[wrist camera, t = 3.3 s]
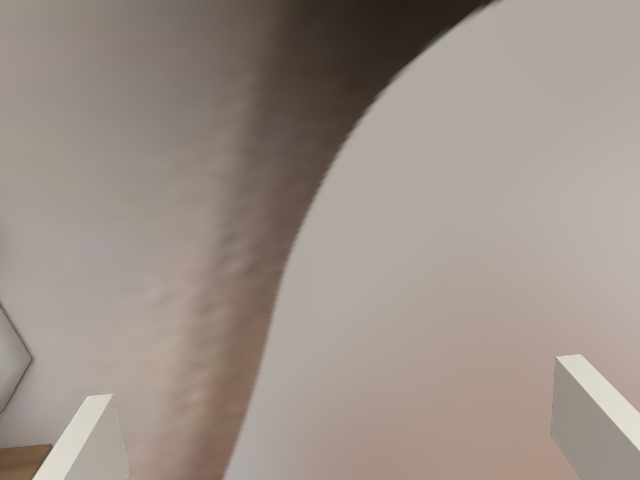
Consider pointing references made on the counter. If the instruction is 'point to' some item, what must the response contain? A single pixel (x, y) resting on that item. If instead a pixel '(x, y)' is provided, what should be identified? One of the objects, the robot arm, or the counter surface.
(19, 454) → the box
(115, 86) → the counter surface
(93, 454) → the robot arm
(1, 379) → the flask
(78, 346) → the counter surface
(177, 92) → the counter surface
